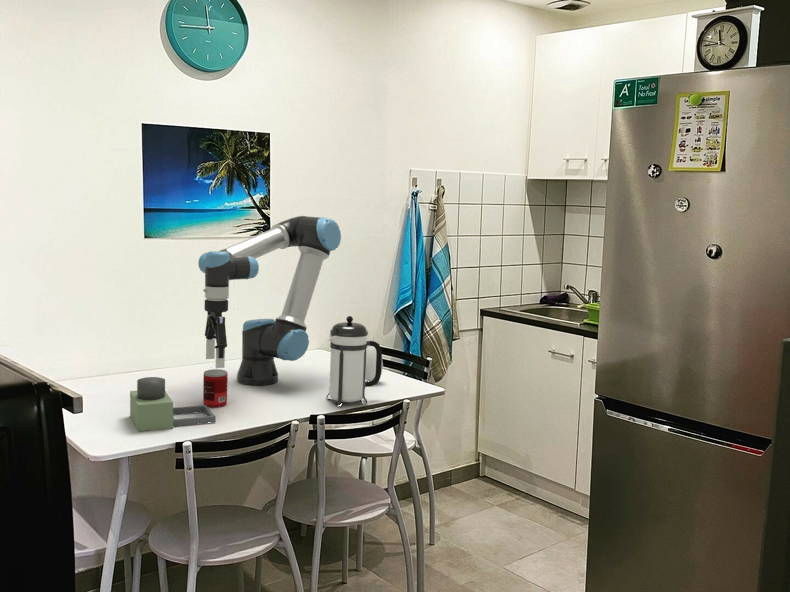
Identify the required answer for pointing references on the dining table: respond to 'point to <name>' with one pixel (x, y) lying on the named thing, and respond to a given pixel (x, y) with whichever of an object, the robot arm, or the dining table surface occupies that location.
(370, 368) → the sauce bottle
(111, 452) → the dining table surface
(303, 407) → the dining table surface
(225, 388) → the canned food
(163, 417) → the capped block with tray
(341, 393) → the coffee press
